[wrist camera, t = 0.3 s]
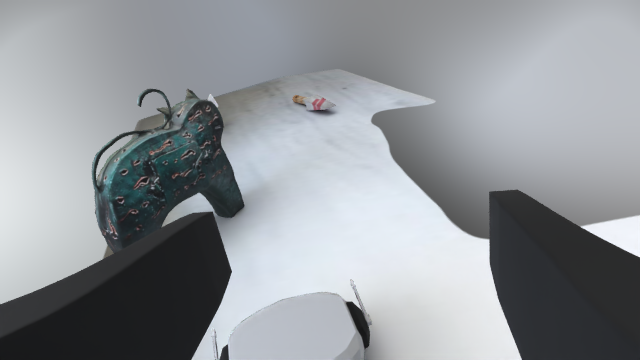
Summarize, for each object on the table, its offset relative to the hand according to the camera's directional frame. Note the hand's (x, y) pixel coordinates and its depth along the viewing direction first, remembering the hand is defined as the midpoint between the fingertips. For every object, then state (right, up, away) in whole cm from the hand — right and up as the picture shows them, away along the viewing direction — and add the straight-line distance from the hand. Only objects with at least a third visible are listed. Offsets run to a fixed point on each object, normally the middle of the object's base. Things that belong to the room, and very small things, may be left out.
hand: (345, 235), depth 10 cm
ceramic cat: (-17, -7, +44) cm, 47 cm away
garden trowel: (-2, +19, +87) cm, 89 cm away
